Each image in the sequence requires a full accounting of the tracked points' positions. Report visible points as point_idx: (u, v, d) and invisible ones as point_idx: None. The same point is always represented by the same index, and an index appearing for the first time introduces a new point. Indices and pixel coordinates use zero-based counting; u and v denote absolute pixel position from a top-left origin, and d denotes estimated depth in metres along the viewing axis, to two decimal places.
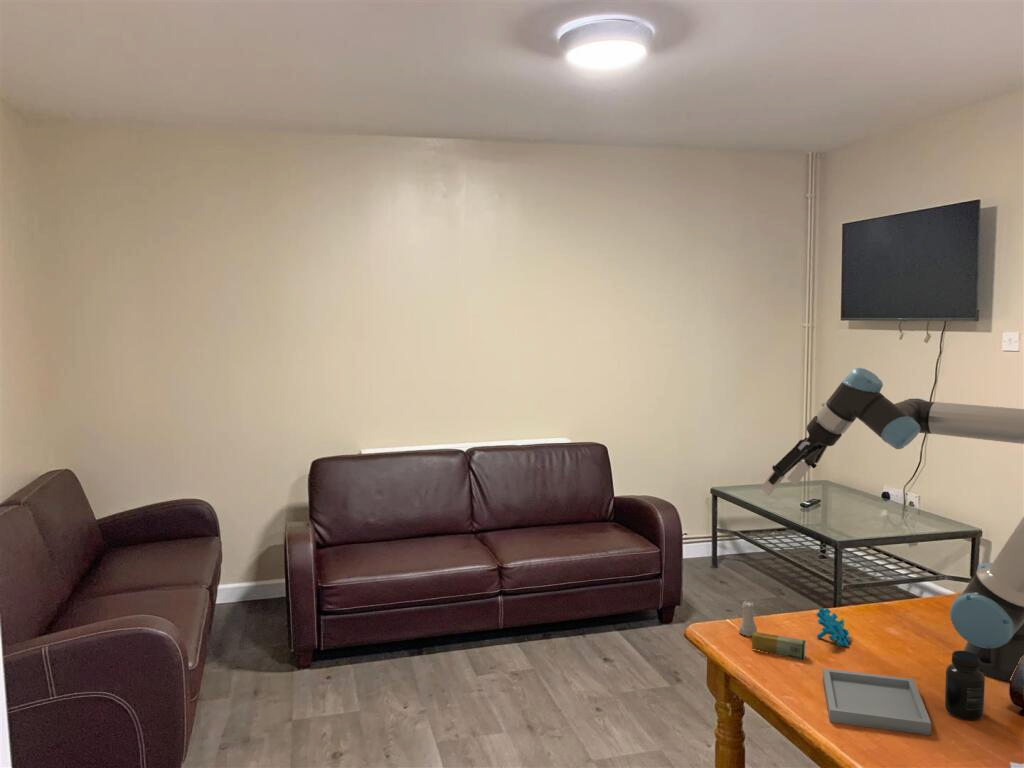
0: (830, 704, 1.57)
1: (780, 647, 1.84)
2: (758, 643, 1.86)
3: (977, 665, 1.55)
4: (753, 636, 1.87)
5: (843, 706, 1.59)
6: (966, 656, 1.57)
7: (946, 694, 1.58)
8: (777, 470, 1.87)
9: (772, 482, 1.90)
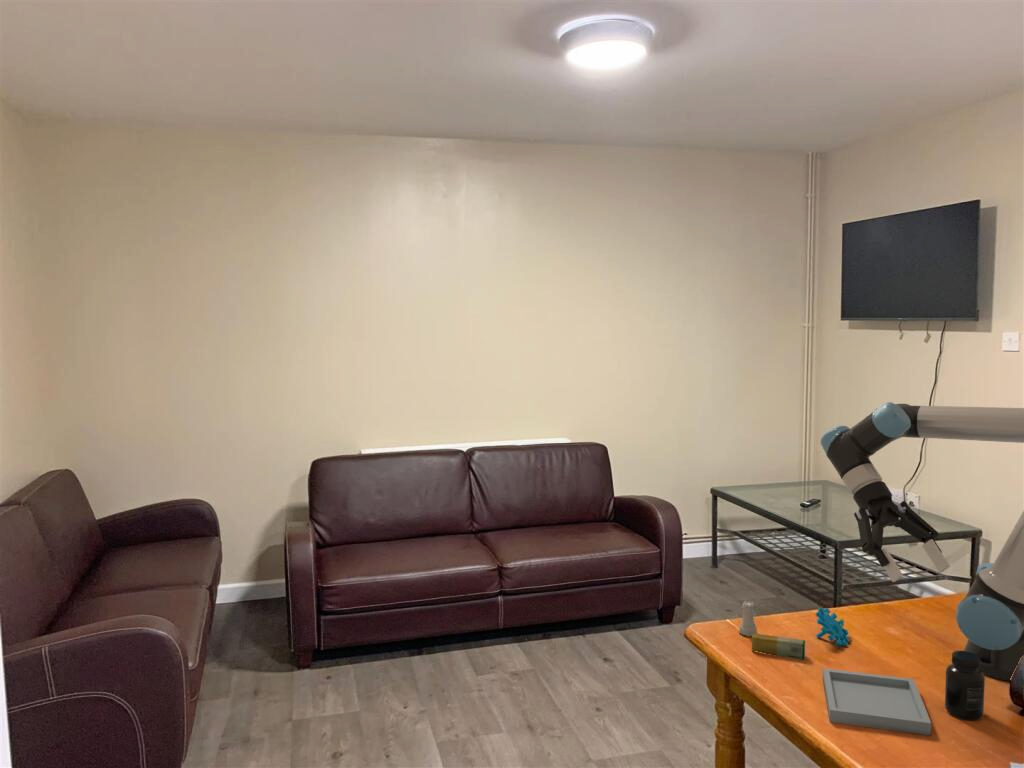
0: (830, 704, 1.57)
1: (780, 648, 1.84)
2: (758, 645, 1.86)
3: (977, 665, 1.55)
4: (753, 638, 1.86)
5: (843, 706, 1.59)
6: (966, 656, 1.57)
7: (946, 694, 1.58)
8: (865, 546, 1.66)
9: (883, 561, 1.64)
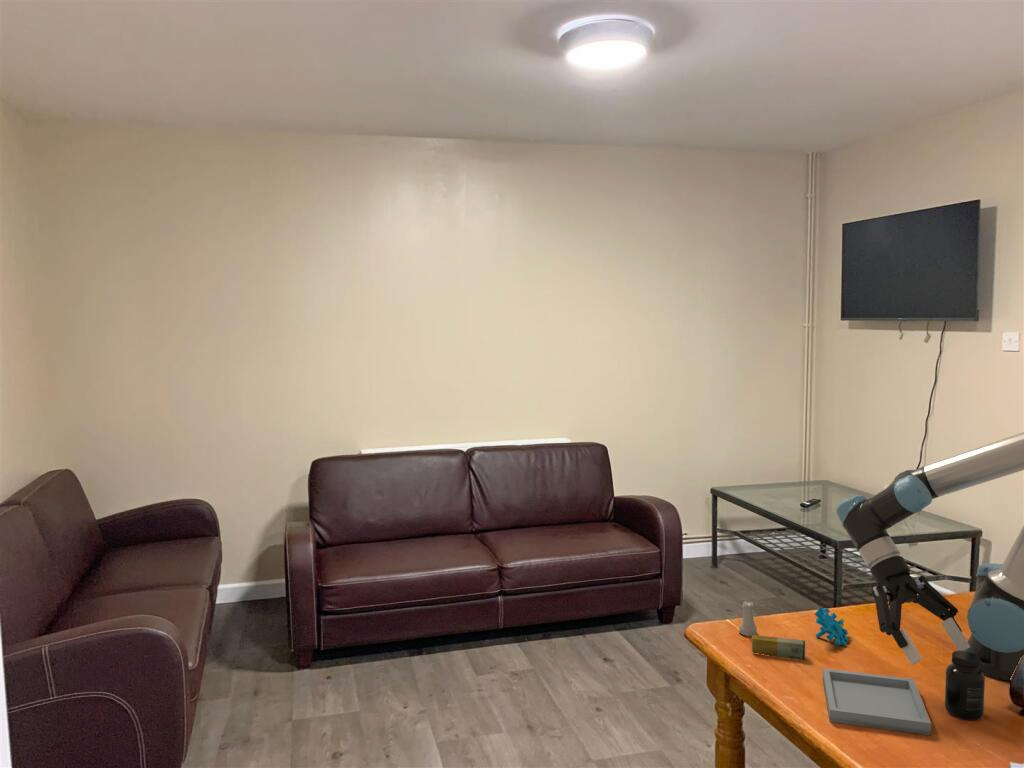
0: (830, 704, 1.57)
1: (780, 649, 1.83)
2: (758, 647, 1.85)
3: (977, 665, 1.55)
4: (753, 639, 1.85)
5: (843, 706, 1.59)
6: (966, 656, 1.57)
7: (946, 694, 1.58)
8: (883, 626, 1.62)
9: (901, 643, 1.60)
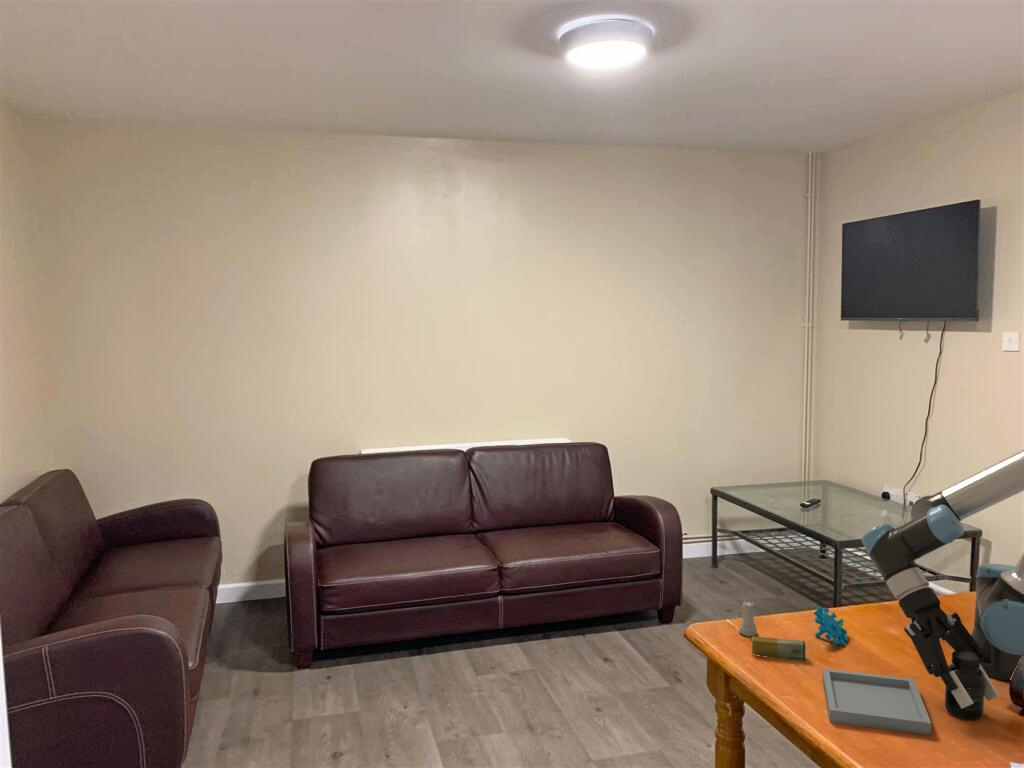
0: (830, 704, 1.57)
1: (781, 650, 1.83)
2: (758, 648, 1.84)
3: (977, 665, 1.55)
4: (753, 641, 1.84)
5: (843, 706, 1.59)
6: (966, 656, 1.57)
7: (946, 694, 1.58)
8: (931, 669, 1.56)
9: (951, 686, 1.55)
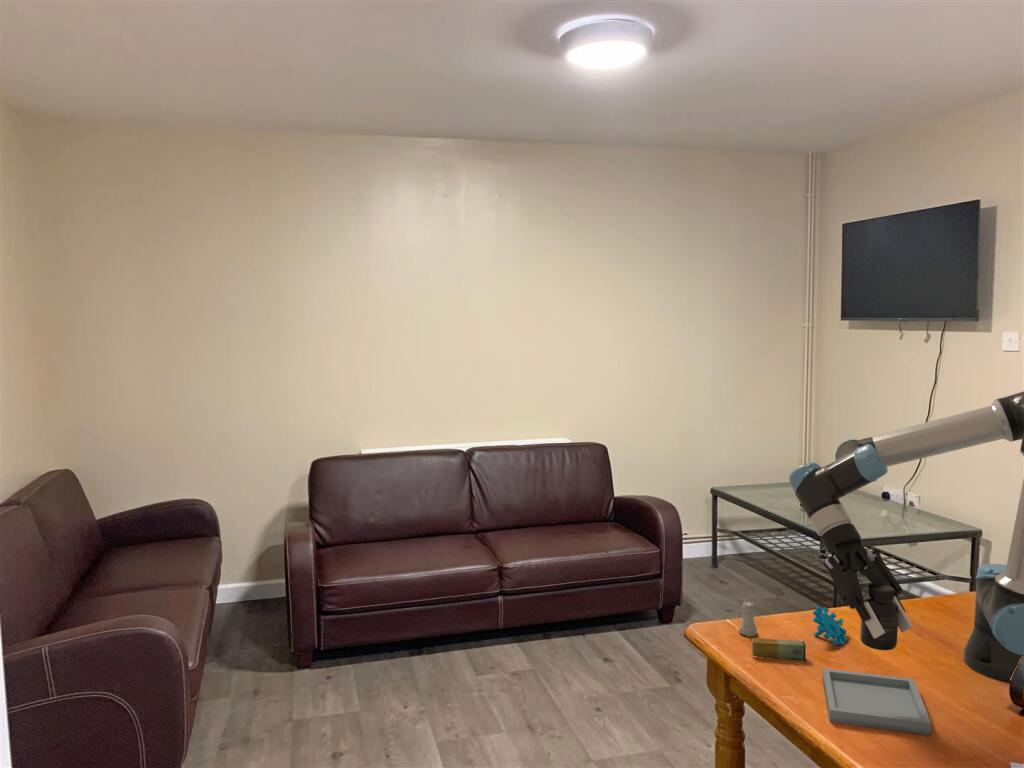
0: (830, 704, 1.57)
1: (781, 651, 1.82)
2: (759, 650, 1.83)
3: (891, 596, 1.57)
4: (754, 643, 1.83)
5: (843, 706, 1.59)
6: (881, 588, 1.58)
7: (861, 625, 1.60)
8: (846, 600, 1.58)
9: (864, 617, 1.56)
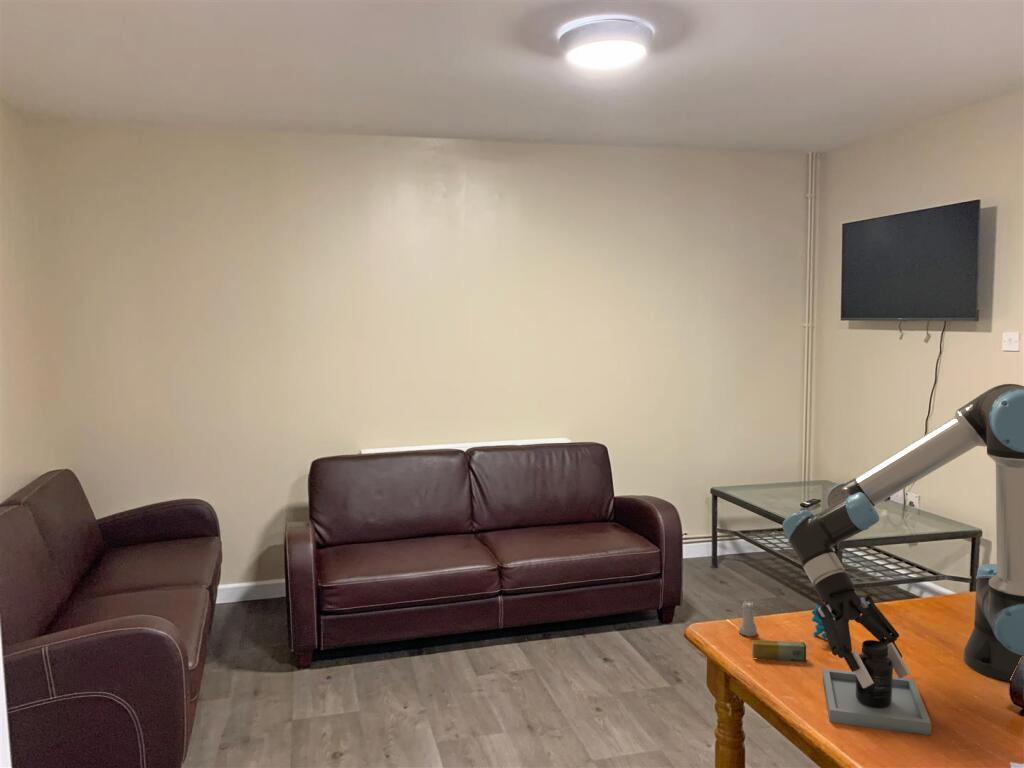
0: (830, 704, 1.57)
1: (782, 652, 1.81)
2: (759, 652, 1.82)
3: (885, 654, 1.58)
4: (754, 645, 1.82)
5: (843, 706, 1.59)
6: (875, 645, 1.60)
7: (856, 682, 1.62)
8: (835, 650, 1.59)
9: (853, 667, 1.57)
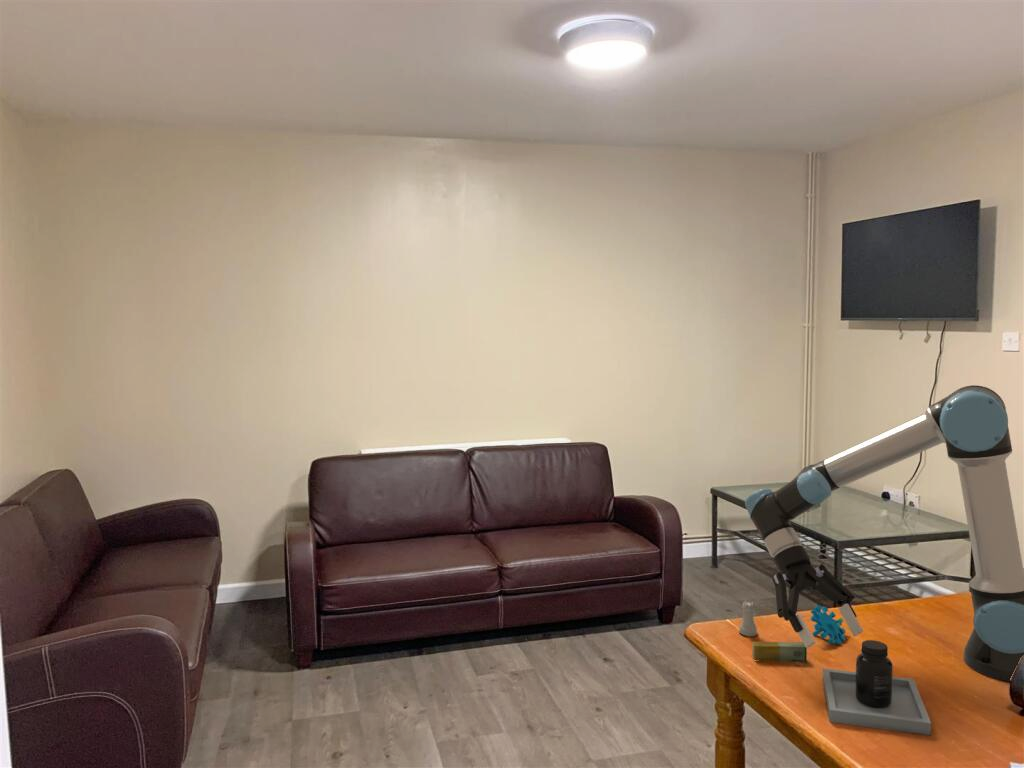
0: (830, 704, 1.57)
1: (783, 653, 1.81)
2: (760, 653, 1.81)
3: (885, 654, 1.58)
4: (755, 647, 1.81)
5: (843, 706, 1.59)
6: (875, 645, 1.60)
7: (856, 682, 1.62)
8: (780, 612, 1.71)
9: (797, 628, 1.69)
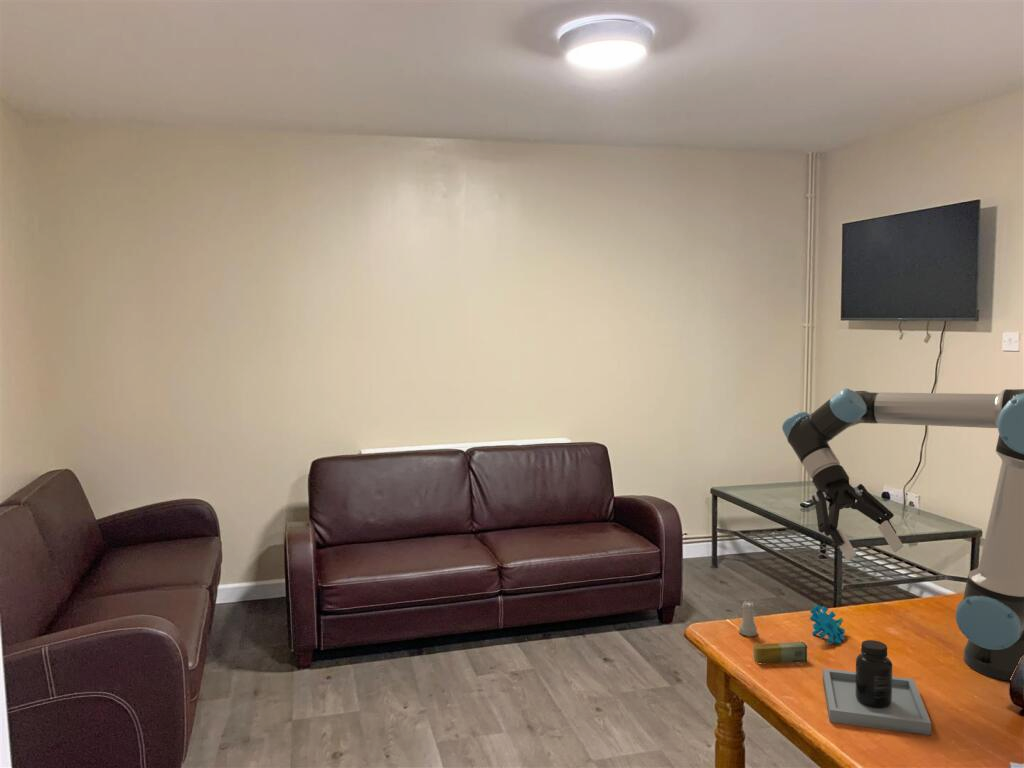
0: (830, 704, 1.57)
1: (784, 654, 1.80)
2: (763, 656, 1.80)
3: (884, 654, 1.58)
4: (758, 649, 1.80)
5: (843, 706, 1.59)
6: (874, 645, 1.60)
7: (856, 683, 1.62)
8: (821, 526, 1.72)
9: (838, 541, 1.70)
